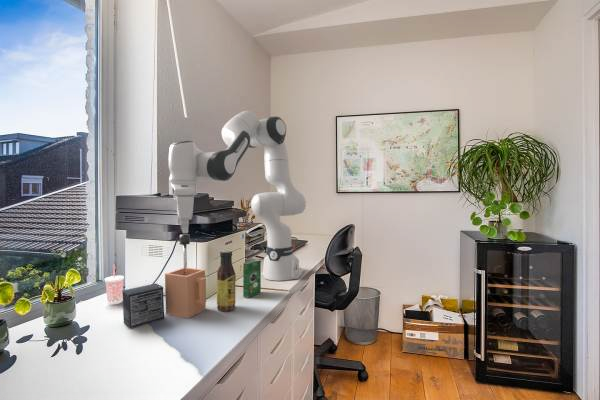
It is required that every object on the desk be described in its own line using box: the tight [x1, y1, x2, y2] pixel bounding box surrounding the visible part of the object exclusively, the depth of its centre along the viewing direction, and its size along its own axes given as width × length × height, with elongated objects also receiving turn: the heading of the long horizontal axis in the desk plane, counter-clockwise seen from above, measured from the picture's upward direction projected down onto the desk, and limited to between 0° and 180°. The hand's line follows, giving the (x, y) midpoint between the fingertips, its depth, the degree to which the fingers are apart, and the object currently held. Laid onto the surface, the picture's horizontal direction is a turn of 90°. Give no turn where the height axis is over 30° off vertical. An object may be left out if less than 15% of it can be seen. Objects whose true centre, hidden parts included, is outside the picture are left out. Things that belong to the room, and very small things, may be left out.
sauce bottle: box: [216, 250, 236, 312], centre depth 114 cm, size 7×6×20 cm
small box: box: [122, 282, 165, 329], centre depth 104 cm, size 11×6×10 cm, turn 134°
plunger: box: [179, 233, 191, 276], centre depth 111 cm, size 7×7×17 cm
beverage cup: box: [104, 263, 125, 305], centre depth 120 cm, size 6×6×14 cm
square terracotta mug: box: [164, 267, 207, 319], centre depth 111 cm, size 9×12×14 cm
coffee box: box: [242, 259, 262, 299], centre depth 128 cm, size 8×3×13 cm, turn 151°
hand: (184, 231), depth 110 cm, fingers open, 8 cm apart
